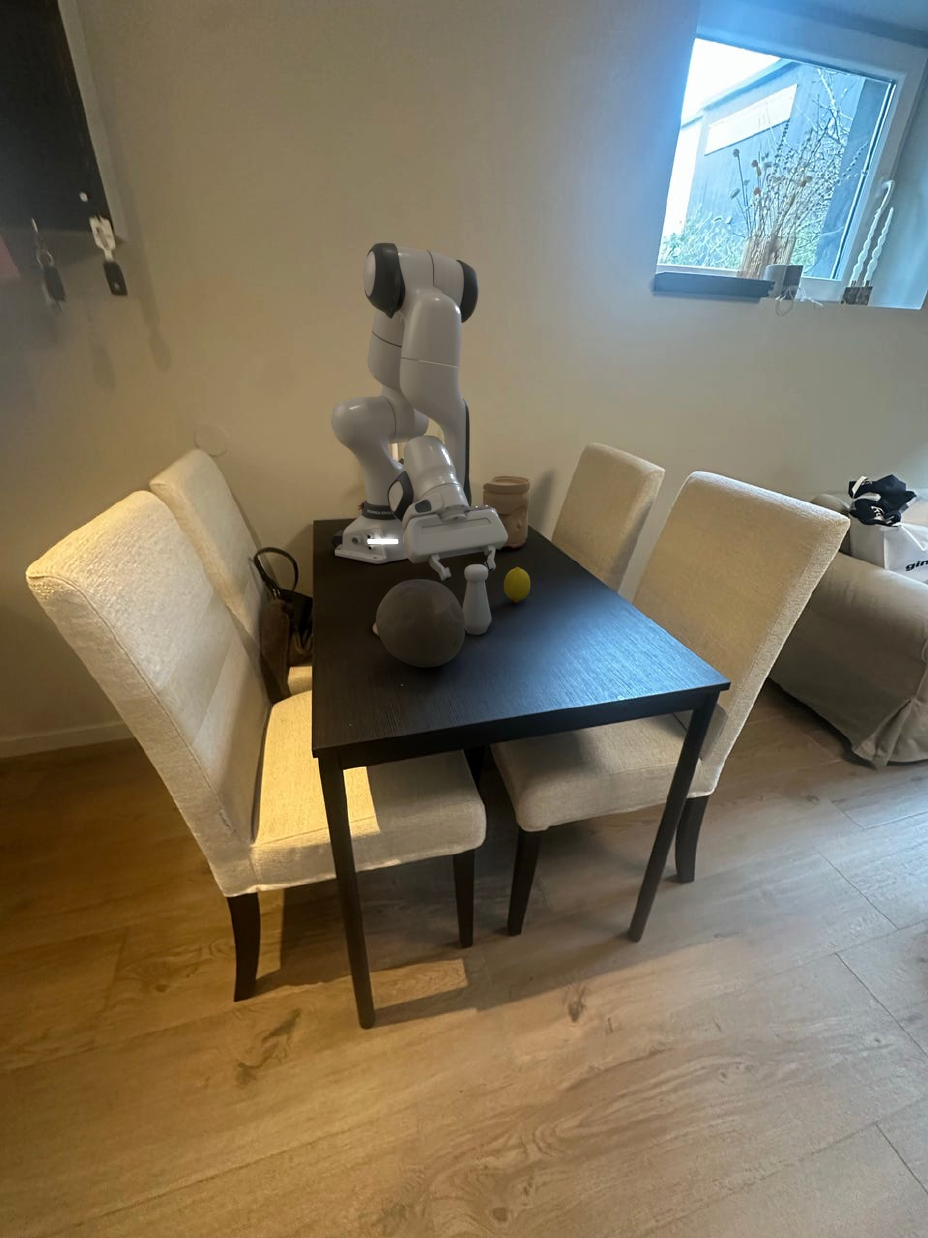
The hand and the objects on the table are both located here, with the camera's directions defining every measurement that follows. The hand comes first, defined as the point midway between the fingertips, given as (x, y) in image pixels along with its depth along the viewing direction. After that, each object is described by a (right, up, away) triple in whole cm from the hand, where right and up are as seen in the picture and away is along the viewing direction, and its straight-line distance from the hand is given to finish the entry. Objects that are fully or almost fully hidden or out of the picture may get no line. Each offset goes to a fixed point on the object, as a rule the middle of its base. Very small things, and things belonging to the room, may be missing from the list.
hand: (469, 574), depth 93 cm
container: (+10, +13, +49) cm, 51 cm away
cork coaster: (-14, -10, +4) cm, 18 cm away
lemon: (+10, -5, +14) cm, 18 cm away
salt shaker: (+1, -11, +3) cm, 11 cm away
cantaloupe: (-8, -16, -8) cm, 20 cm away
